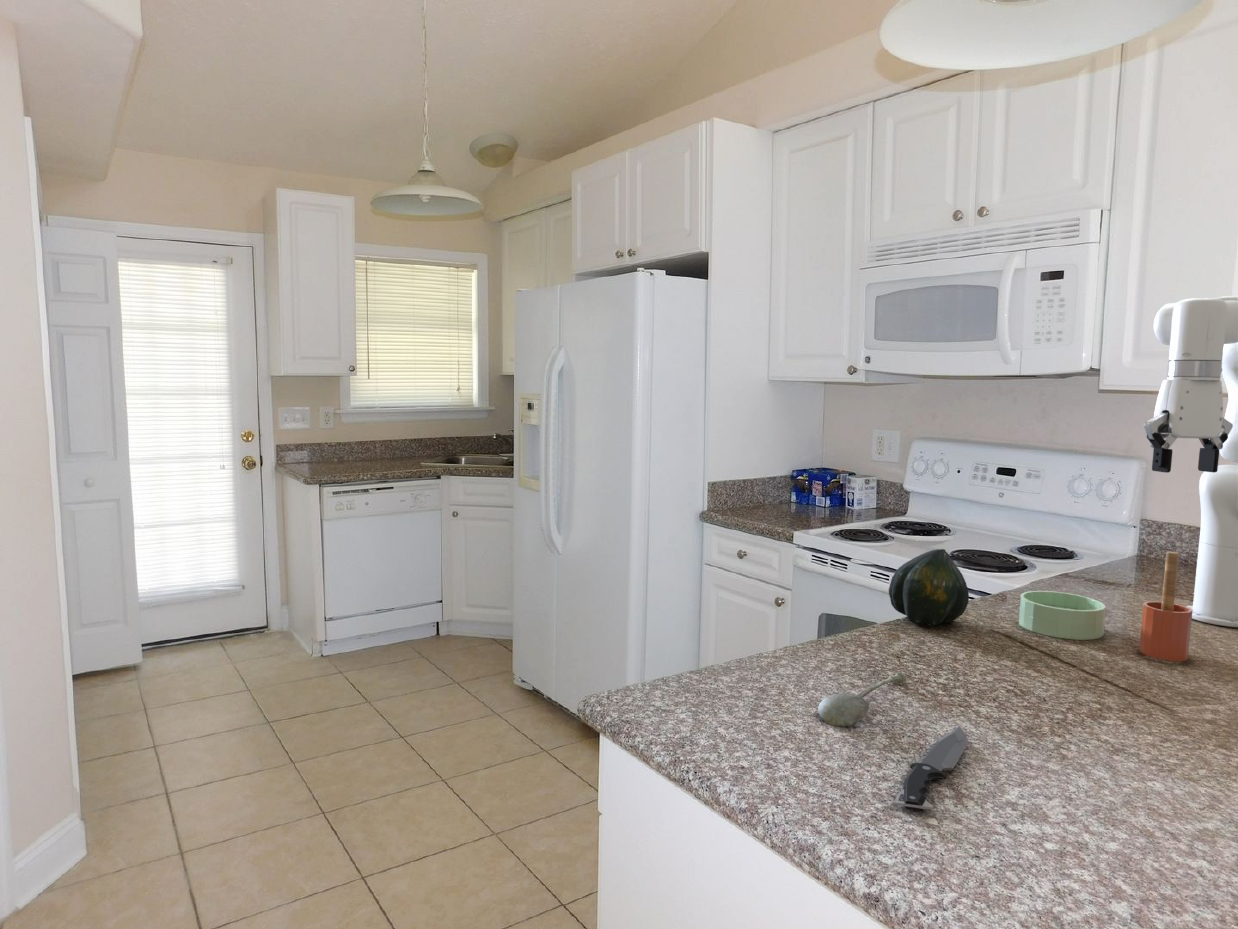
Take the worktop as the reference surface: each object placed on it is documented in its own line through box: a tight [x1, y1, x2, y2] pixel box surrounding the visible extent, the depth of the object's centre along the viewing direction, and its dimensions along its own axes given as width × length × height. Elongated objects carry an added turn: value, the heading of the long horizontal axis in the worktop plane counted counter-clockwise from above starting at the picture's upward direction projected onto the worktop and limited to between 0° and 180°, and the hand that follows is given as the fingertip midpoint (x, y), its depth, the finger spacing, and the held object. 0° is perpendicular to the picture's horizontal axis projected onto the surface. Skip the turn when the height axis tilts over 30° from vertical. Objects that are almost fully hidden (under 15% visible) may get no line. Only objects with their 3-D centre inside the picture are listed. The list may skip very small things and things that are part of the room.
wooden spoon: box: [1161, 550, 1180, 612], centre depth 140 cm, size 3×2×18 cm, turn 12°
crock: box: [1138, 600, 1193, 662], centre depth 140 cm, size 7×7×9 cm
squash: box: [888, 548, 970, 626], centre depth 159 cm, size 14×15×15 cm
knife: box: [894, 725, 968, 811], centre depth 98 cm, size 26×1×5 cm
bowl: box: [1017, 590, 1107, 641], centre depth 154 cm, size 14×14×6 cm
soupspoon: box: [817, 671, 906, 727], centre depth 117 cm, size 22×3×7 cm
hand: (1184, 471), depth 140 cm, fingers open, 9 cm apart
